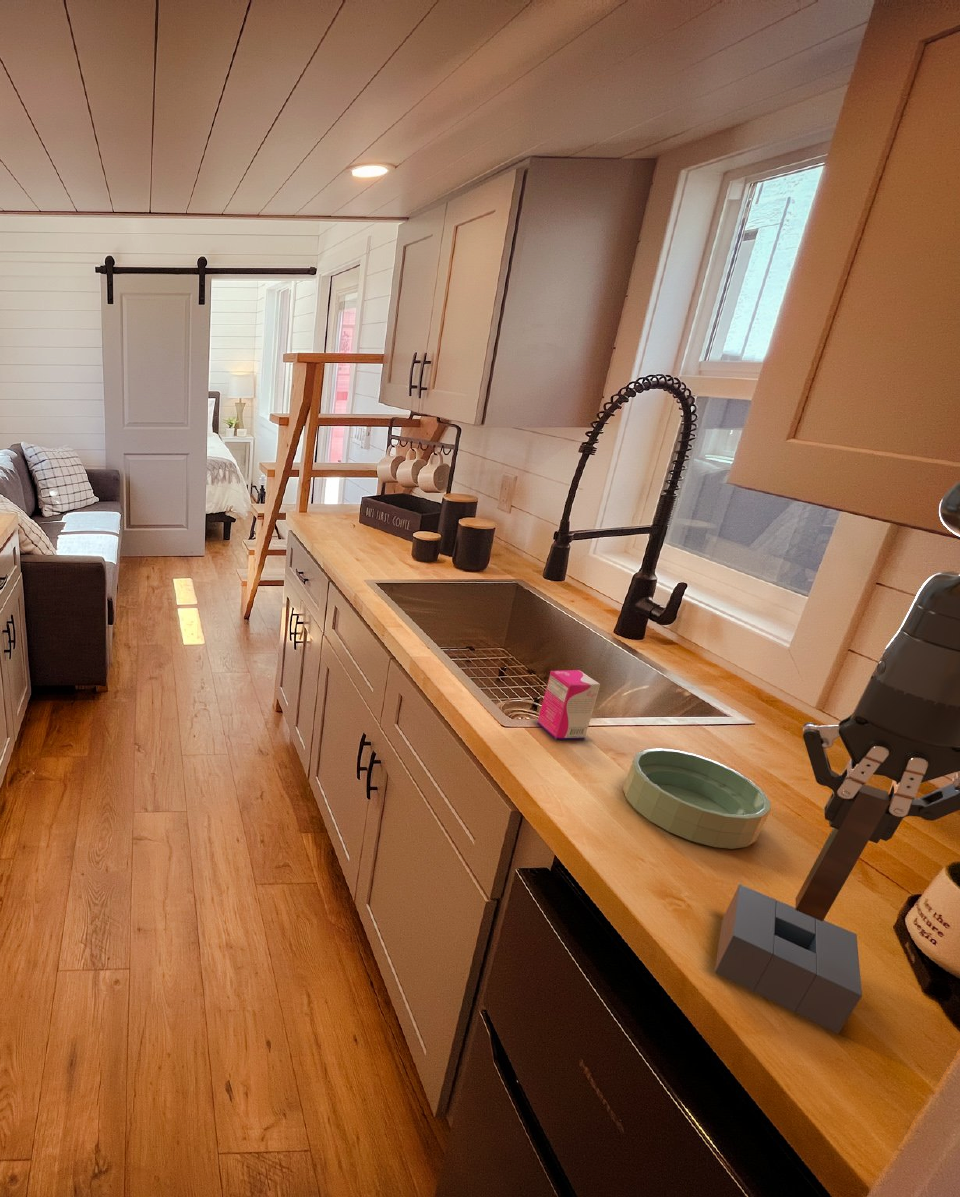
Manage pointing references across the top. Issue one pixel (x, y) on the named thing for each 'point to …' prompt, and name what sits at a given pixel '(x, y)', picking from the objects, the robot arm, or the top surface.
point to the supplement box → (568, 704)
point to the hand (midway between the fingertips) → (852, 830)
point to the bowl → (696, 798)
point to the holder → (790, 958)
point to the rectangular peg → (841, 852)
